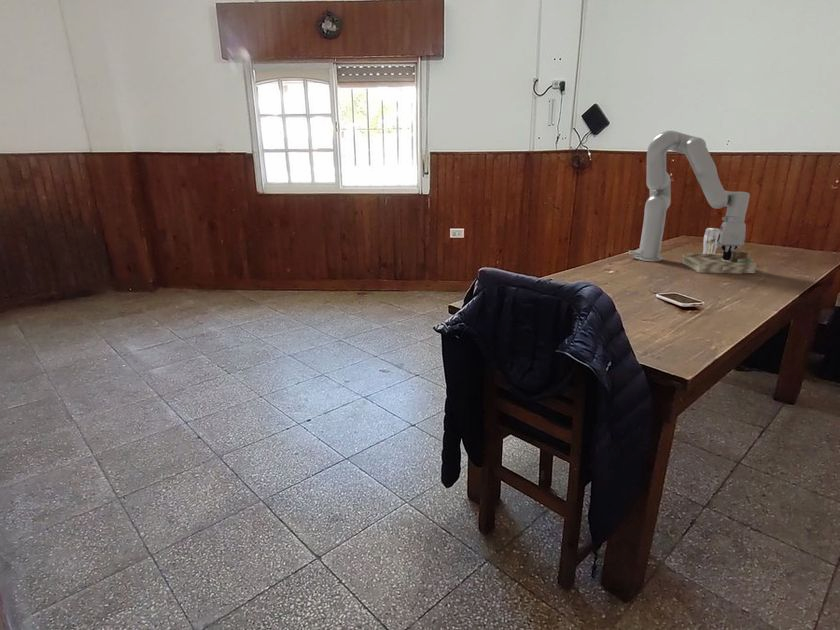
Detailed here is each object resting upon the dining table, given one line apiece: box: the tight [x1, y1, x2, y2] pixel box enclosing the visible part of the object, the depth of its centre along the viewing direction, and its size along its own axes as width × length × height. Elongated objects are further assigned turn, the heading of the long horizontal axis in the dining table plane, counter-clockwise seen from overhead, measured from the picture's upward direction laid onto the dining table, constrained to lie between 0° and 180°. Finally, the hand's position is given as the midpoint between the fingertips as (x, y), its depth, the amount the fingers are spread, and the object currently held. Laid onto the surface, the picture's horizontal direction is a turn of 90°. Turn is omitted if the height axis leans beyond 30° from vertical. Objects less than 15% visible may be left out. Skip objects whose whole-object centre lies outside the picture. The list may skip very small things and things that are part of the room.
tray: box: [681, 252, 758, 274], centre depth 233 cm, size 24×19×6 cm
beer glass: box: [702, 227, 720, 254], centre depth 249 cm, size 7×7×15 cm
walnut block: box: [729, 249, 749, 263], centre depth 231 cm, size 5×5×5 cm
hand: (726, 259), depth 232 cm, fingers closed
